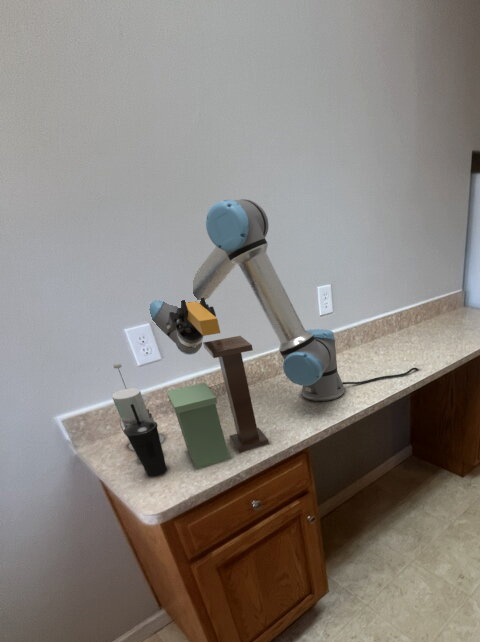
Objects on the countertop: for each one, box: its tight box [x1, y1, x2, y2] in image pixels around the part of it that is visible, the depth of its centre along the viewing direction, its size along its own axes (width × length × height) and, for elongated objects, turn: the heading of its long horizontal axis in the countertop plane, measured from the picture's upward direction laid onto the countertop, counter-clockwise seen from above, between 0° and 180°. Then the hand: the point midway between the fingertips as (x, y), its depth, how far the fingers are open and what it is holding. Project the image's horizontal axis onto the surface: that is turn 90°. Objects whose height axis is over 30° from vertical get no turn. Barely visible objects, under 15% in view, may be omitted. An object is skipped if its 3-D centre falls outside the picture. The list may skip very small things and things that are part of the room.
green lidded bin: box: [166, 382, 231, 470], centre depth 114 cm, size 12×10×19 cm
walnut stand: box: [202, 335, 270, 454], centre depth 117 cm, size 10×10×30 cm
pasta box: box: [186, 301, 221, 337], centre depth 105 cm, size 22×4×4 cm, turn 33°
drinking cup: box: [123, 404, 168, 478], centre depth 107 cm, size 8×8×20 cm
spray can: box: [111, 387, 151, 464], centre depth 113 cm, size 6×6×20 cm
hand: (194, 304), depth 106 cm, fingers closed on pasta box, 4 cm apart
